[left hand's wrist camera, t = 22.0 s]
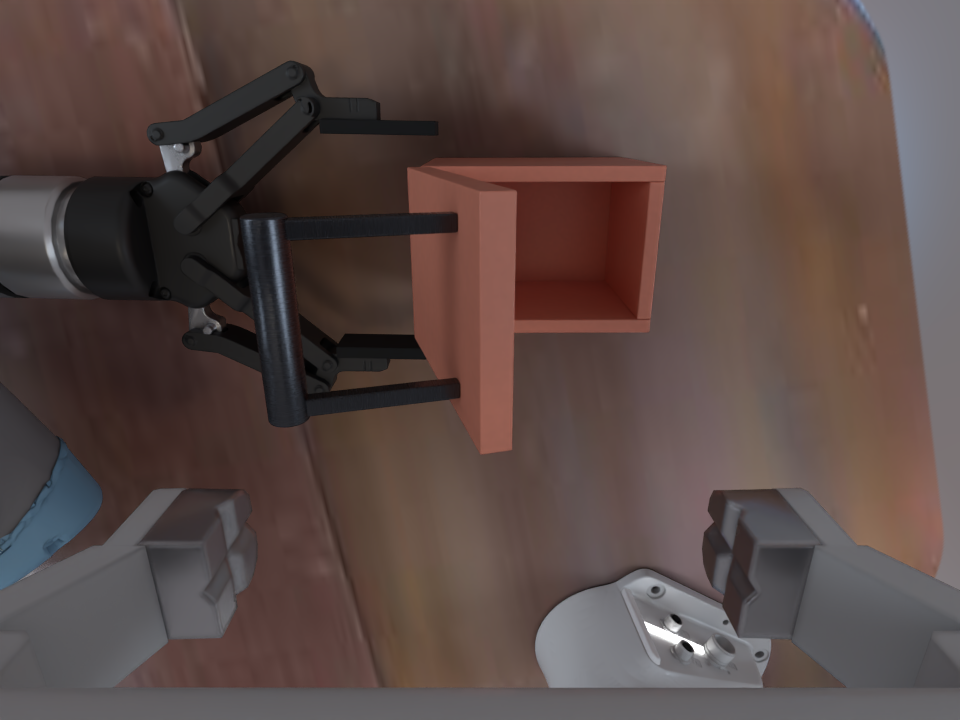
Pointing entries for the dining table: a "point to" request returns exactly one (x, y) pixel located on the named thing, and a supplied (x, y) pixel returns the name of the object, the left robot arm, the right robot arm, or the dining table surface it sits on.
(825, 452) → the dining table surface
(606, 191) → the chest
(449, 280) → the lid
